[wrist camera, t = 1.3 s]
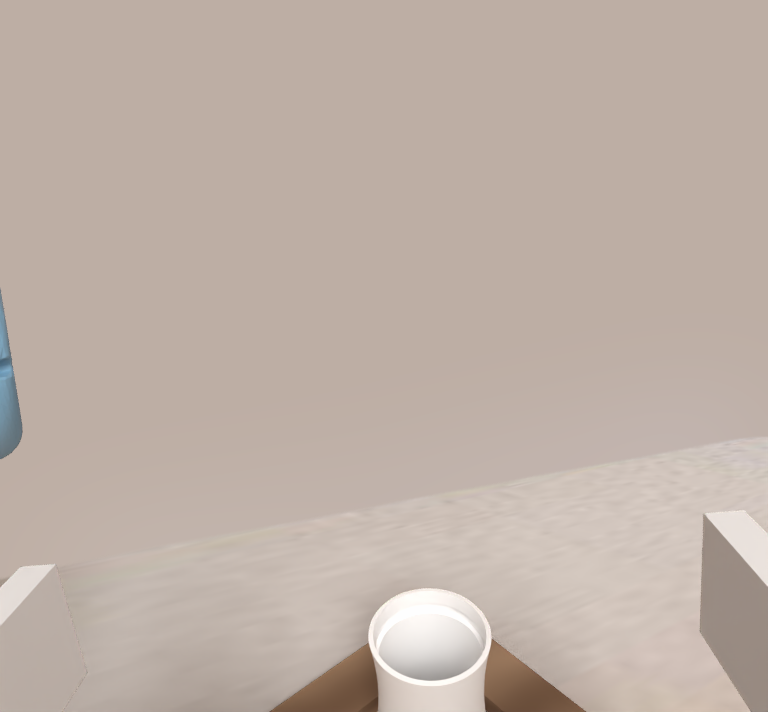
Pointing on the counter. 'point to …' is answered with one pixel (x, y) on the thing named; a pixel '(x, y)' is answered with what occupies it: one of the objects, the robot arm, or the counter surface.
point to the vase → (430, 652)
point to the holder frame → (360, 687)
